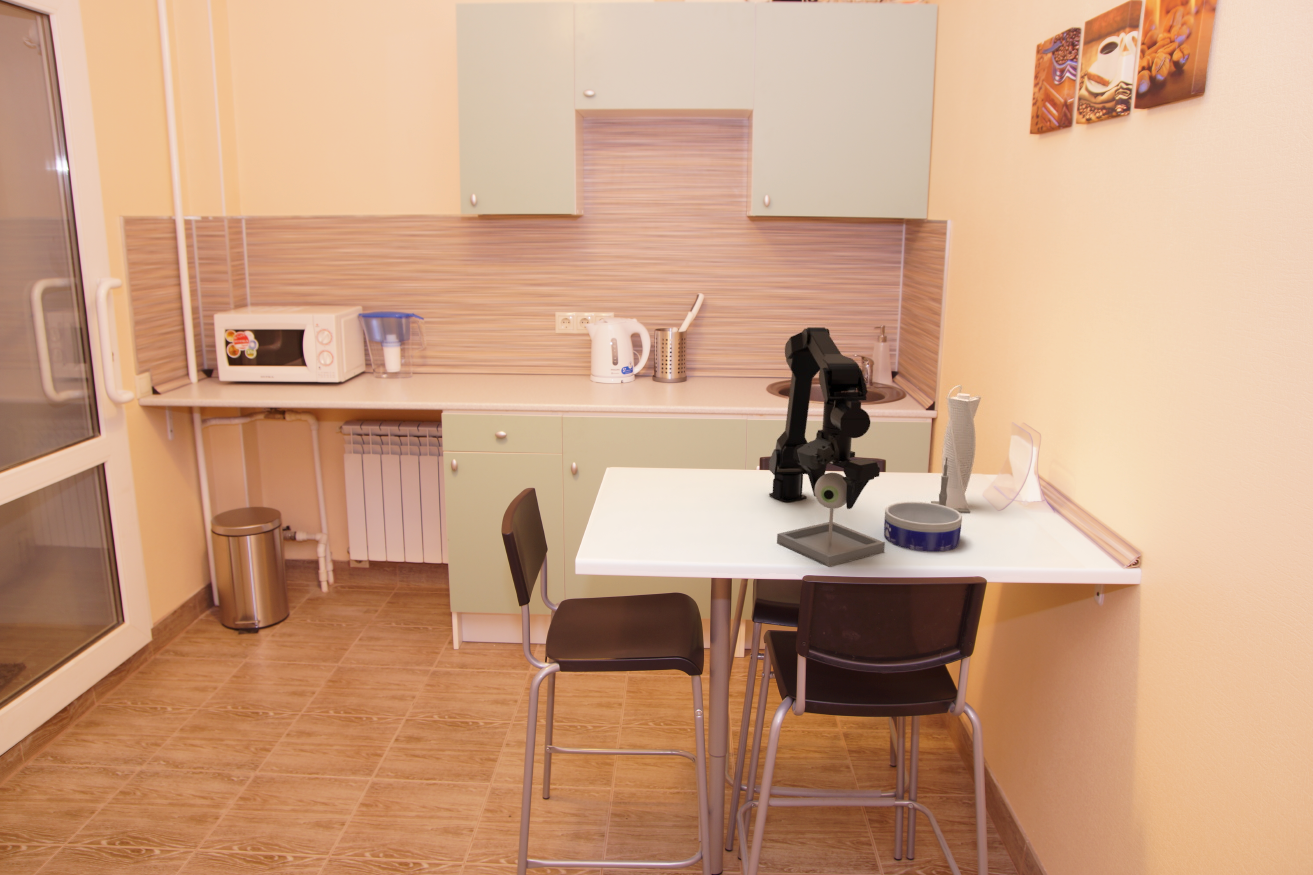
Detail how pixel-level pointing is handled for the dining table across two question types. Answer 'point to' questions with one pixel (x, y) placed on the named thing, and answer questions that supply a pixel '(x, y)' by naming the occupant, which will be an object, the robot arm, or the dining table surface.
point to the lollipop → (831, 495)
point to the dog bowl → (922, 526)
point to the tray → (842, 547)
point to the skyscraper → (958, 451)
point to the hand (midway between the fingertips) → (832, 502)
